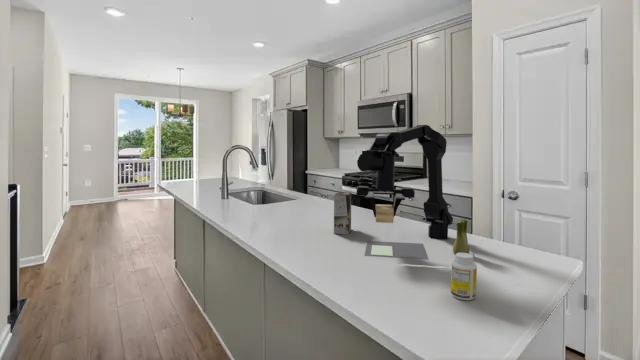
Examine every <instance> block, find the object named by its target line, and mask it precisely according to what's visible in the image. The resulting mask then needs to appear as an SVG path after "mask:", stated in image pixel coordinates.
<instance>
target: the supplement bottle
mask: <svg viewBox="0 0 640 360" xmlns="http://www.w3.org/2000/svg"><path fill="white" fill-rule="evenodd" d="M454 258H455V260H453V261H452V262H451V275H450V277H451V280H450V281H451V282H450V286H451V287H450V295H452V297H453V298H455V299H458V300H460V301H472V300H474V299H475V298H476V295H477V294H476V293H477V277H478V276H477V273H478V272H477V270H478V266H477V263H475V262H474V255H473V254H472V253H470V252H469V253H456V255H455V256H454Z"/></svg>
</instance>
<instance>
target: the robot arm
mask: <svg viewBox="0 0 640 360" xmlns="http://www.w3.org/2000/svg"><path fill="white" fill-rule="evenodd" d="M413 140H417V143H418V144H419V145H420V146H421V148H422V153H423V155H424V157H425V158H426V159H427V179H428V197H427V198H428V199H427V200H426V201H424V202H423V213H424V216H425V220H426V222H428V223H429V225H428V238H430V239H432V240H449V237H448V236H449V235H448V234H449V226H451V225H452V224H453V220H454V218H453V216H452V214H451V213H450V210H449V208H448V203H447V201H446V199H445V197H443V192H444V191H443V167H442V164H443V161H442V159H443V157H444V155H445V153H446V152H447V145H448V144H447V142H448V141H447V139H446V138H445V137H444V136H443V135H442V134H441V133H440V132H439V131H436V130H434V129H433V128H432V127H431V126H430V125H428V124H416V125H415V126H412V127H408V128H405V129H402V130H399V131H396V132H379V133H377V134H376V135H375V138H374V140H373V141H372V143H371V145H370V147H369V149H362V150H361V154H360V155H358V159H357V161H356V165H357V168H358V169H359V171H360V172H376V176H372V177H371V187H375V188H369V186H368V185H367V186H366V185H358V186H357V187H356V197H365V200H368V201H369V203H370V206H371V209H372V213H373V215H374V216H373V217H374V218H375V217H376V201H375V195H386V196H387V195H391V196H394V200H393V204H392V206H393V209H394V217H393V219H394V218H395V215H396V212H397V210H398V208H399V206H400V204H402V203H401V202H402V201H405V200H406V198H409V199H411V198H412V199H414V198H415V197H416V196H415V190H414V189H413V188H412V187H404V186H401V187H400V189H395V166H396V165H395V164H396V162H395V161H396V158H400V154H399V153H397V151H396V150H398V148H401V146H402V145H403V144H405V143H407V142H410V141H413Z"/></svg>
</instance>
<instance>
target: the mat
mask: <svg viewBox="0 0 640 360" xmlns="http://www.w3.org/2000/svg"><path fill="white" fill-rule="evenodd" d="M363 256H364V257H376V258H380V257H381V258H394V259H395V258H396V259H397V258H398V259H412V260H414V259H415V260H429V257H428V253H427V251H426V249H425V246H424V243H419V242H417V243H415V242H401V241H400V242H398V241H397V242H395V241H394V242H393V241H379V240H378V241H376V240H375V241H374V240H372V241H371V240H367V241H366V245H365V251H364V255H363Z"/></svg>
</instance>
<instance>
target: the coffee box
mask: <svg viewBox="0 0 640 360" xmlns="http://www.w3.org/2000/svg"><path fill="white" fill-rule="evenodd" d="M333 198H334V199H333V234H341V235H349V233H350V232H351V229H352V192H348V191H347V192H344V191H343V192H336V193H335V194H334V195H333Z"/></svg>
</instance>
